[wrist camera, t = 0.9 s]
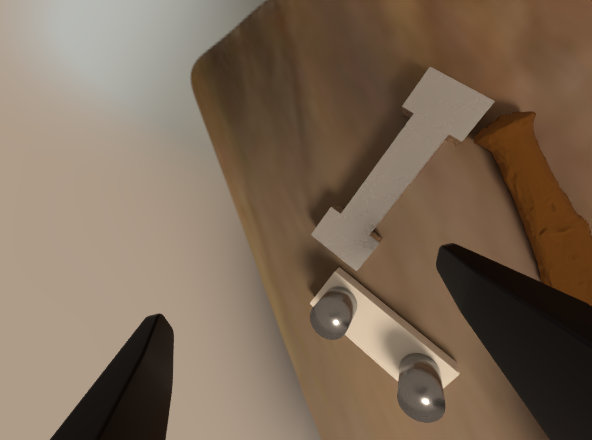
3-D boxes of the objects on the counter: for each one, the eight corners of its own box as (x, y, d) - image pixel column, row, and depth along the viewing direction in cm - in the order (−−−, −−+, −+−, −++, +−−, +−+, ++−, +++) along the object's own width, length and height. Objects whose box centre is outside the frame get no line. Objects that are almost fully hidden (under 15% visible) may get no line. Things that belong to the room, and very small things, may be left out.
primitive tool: (674, 361, 18) (729, 398, 15) (573, 380, 20) (603, 416, 17) (519, 108, 20) (538, 93, 17) (441, 150, 22) (445, 144, 19)
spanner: (486, 110, 20) (494, 101, 18) (361, 264, 25) (356, 271, 23) (428, 78, 22) (430, 66, 19) (319, 231, 26) (311, 235, 24)
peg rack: (457, 362, 23) (468, 406, 18) (423, 392, 24) (426, 440, 19) (338, 266, 26) (322, 283, 21) (315, 297, 27) (294, 320, 22)
